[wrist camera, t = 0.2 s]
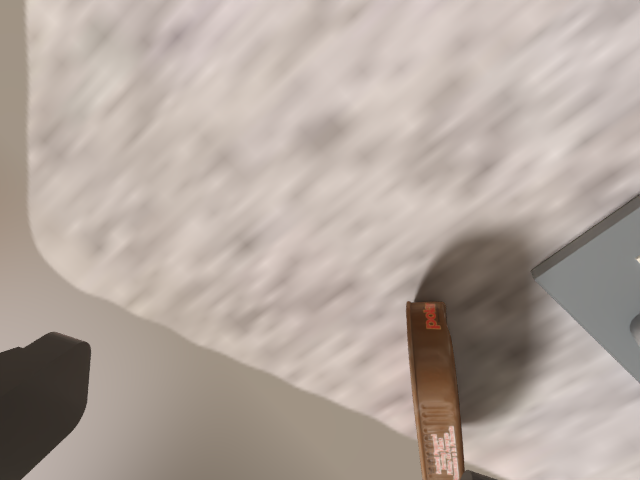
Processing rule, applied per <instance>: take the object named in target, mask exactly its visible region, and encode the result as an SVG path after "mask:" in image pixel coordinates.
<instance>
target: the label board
mask: <svg viewBox="0 0 640 480" xmlns="http://www.w3.org/2000/svg"><path fill="white" fill-rule="evenodd" d="M531 273H532V276H533V278H534V280H535V281H536V282H537V283H538V284H539V285H540V286H541V287H542V288H543V289H544V290H545V291H546V292H547V293H548V294H549V295H550V296H551V297H552V298H553V299H554V300H555V301H556V302H557V303H558V304H559V305H560V306H561V307H562V308H563V309H564V310H565V311H567V312H568V313H569V314H570V315H571V316H572V317H573V318H574V319H575V320H576V321H577V322H578V323H579V324H580V325H581V326H582V327H583V328H584V329H585V330H586V331H587V332H588V333H589V334H590V335H591V336H592V337H593V338H594V339H595V340H596V341H597V342H598V343H599V344H600V345H601V346H602V347H603V348H604V349H605V350H606V351H607V352H608V353H609V354H610V355H611V356H612V357H613V358H614V359H615V360H617V361H618V362H619V363H620V364H621V365H622V366H623V367H624V368H625V369H626V370H627V371H628V372H629V373H630V374H631V375H632V376H633V377H634V378H635V379H636V380H637V381H638V382H639V383H640V195H639V196H637V197H636V198H634V199H633V200H631V201H630V202H629V203H627V204H626V205H624V206H623V207H621V208H620V209H619V210H617V211H616V212H614V213H613V214H611V215H610V216H609V217H607V218H606V219H604V220H603V221H601V222H600V223H599V224H597V225H596V226H594V227H593V228H591V229H590V230H589V231H587V232H586V233H584V234H583V235H581V236H580V237H579V238H577V239H576V240H574V241H573V242H571V243H570V244H569V245H567V246H566V247H564V248H563V249H561V250H560V251H559V252H557V253H556V254H554V255H553V256H551V257H550V258H549V259H547V260H546V261H544V262H543V263H541V264H540V265H539V266H537V267H536V268H534V269H533V270H531Z"/></svg>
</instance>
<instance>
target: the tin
mask: <svg viewBox="0 0 640 480" xmlns="http://www.w3.org/2000/svg"><path fill="white" fill-rule="evenodd" d="M406 317H407V337H408V352H409V364H410V374H411V385H412V396H413V403H414V413H415V421H416V429H417V439H418V446H419V454H420V462H421V471H422V479H423V480H460V479H461V477H462V475H463V473H464V472H465V470H464V454H463V441H462V429H461V418H460V408H459V396H458V387H457V377H456V368H455V360H454V353H453V346H452V340H451V336H450V332H449V329H448V327H447V320H446V305H445V303H444V302H437V301H434V302H417V303H411V302H410V301H408V302H407V304H406Z"/></svg>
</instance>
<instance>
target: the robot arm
mask: <svg viewBox="0 0 640 480" xmlns="http://www.w3.org/2000/svg"><path fill="white" fill-rule="evenodd" d="M90 357H91V348H90V345H89V344H88V343H87V342H85V341H81V340H78V339H75V338H72V337H69V336H66V335H63V334H60V333H57V332H50V333H48V334H46V335H44V336H42V337H41V338H39V339H38V340H36V341H34V342H33V343H31V344H30V345H28V346H26V347H25V348H20V347H17V348H13V349H10V350H7V351H4V352H1V353H0V480H21V479H22V478H23V477H24V476H25V475H26V474H27V473H29V472H30V471H31V470H32V469H33V468H34V467H35V466H36V465H37V464H38V463H39V462H40V461H41V460H42V459H43V458H44V457H45V456H47V454H49V453H50V451H52V450H53V449H54V448H55V447H56V446H57V445H58V444H59V443H60V442H61V441H62V440H63V439H64V438H66V437H67V436H68V435H69V434H70V433H71V432H72V431H73V429H74V428H75V427H76V426H77V424H78V423H79V421H80V419H81V417H82V415H83V413H84V410H85V408H86V404H87V395H88V384H89V371H90V359H91V358H90ZM460 480H497V479H494V478H490V477H488V476H485V475H481V474H479V473H475V472H473V471H469V470H466V471H465V472H464V473H463V475H462V477H461V479H460Z"/></svg>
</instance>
